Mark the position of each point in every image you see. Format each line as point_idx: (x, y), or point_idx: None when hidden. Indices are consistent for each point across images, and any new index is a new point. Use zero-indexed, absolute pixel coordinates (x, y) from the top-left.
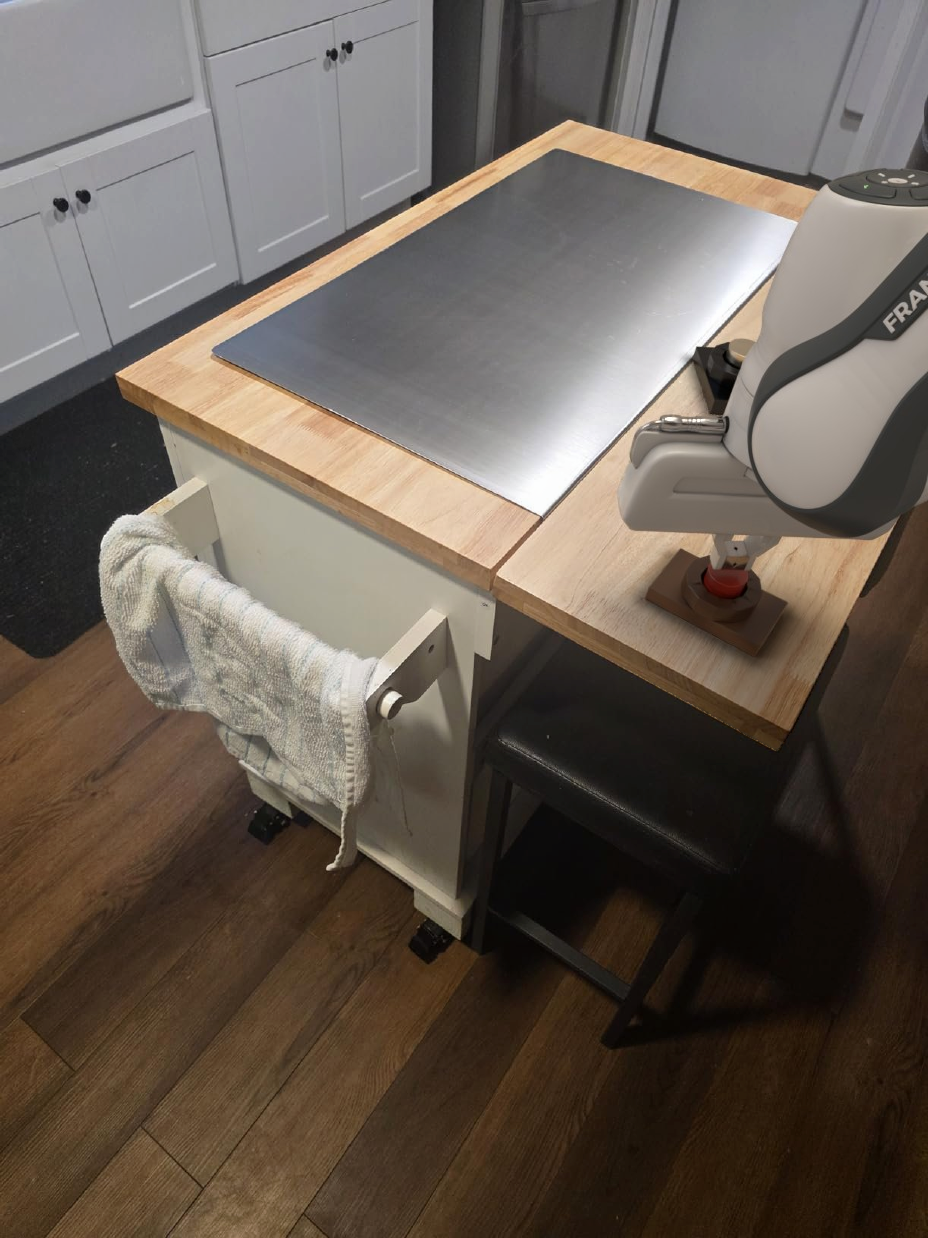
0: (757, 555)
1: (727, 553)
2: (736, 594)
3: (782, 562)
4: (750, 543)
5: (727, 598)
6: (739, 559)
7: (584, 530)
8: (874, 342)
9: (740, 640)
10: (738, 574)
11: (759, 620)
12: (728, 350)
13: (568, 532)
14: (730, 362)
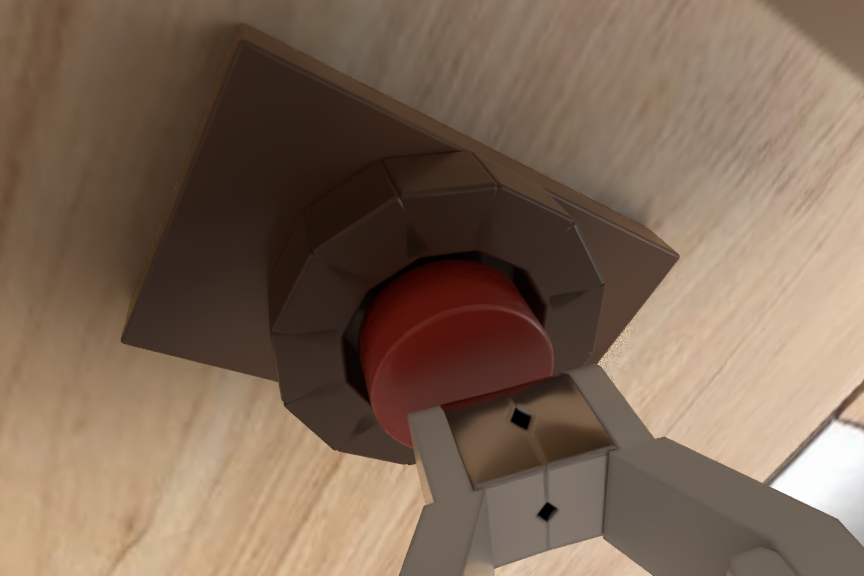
0: (440, 515)
1: (633, 465)
2: (402, 290)
3: (157, 507)
4: (483, 574)
5: (435, 262)
6: (522, 453)
7: (746, 415)
8: None
9: (331, 78)
10: (419, 386)
11: (250, 208)
12: None
13: (788, 396)
14: None
